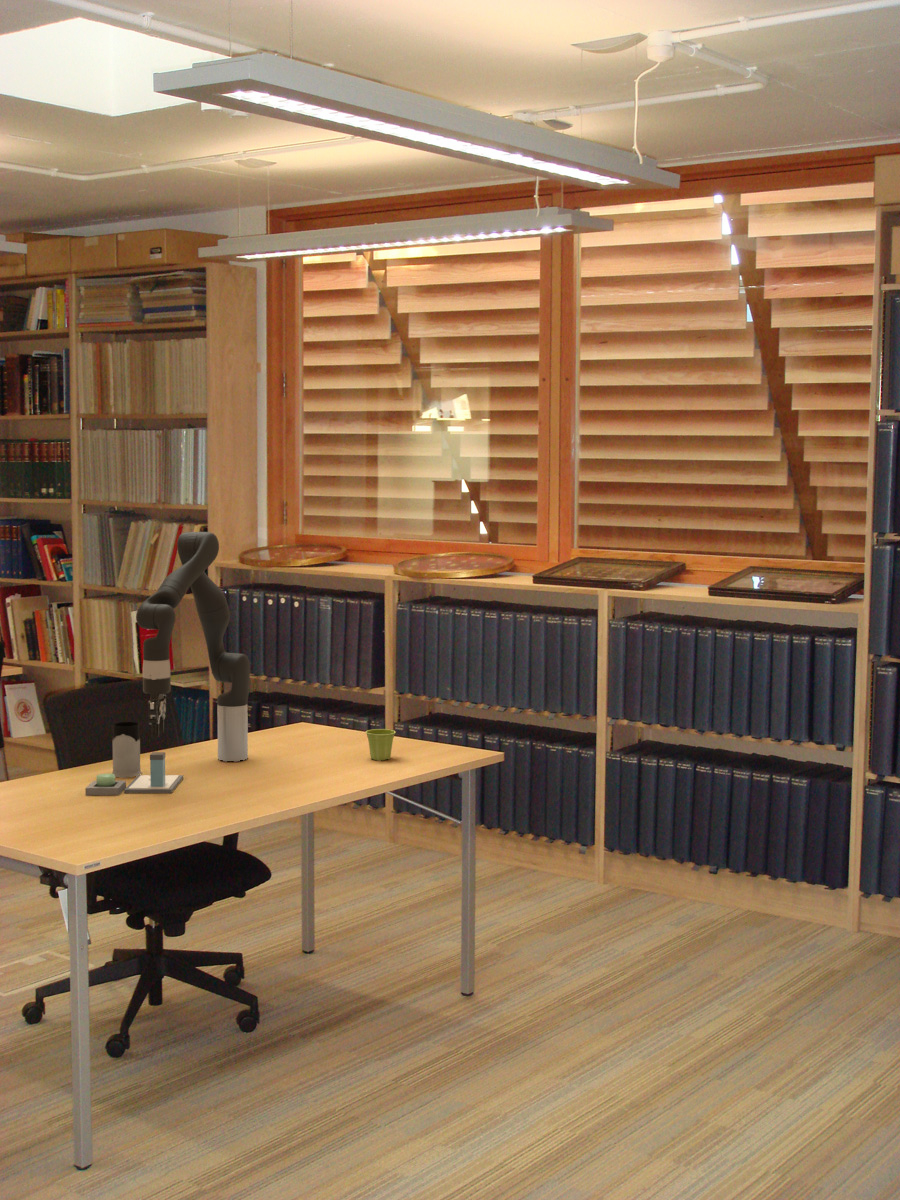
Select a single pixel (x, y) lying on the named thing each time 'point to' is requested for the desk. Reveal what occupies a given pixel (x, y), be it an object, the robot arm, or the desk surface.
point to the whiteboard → (144, 784)
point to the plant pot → (380, 743)
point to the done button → (105, 779)
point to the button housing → (105, 788)
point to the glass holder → (126, 749)
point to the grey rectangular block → (157, 769)
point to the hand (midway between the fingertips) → (157, 734)
